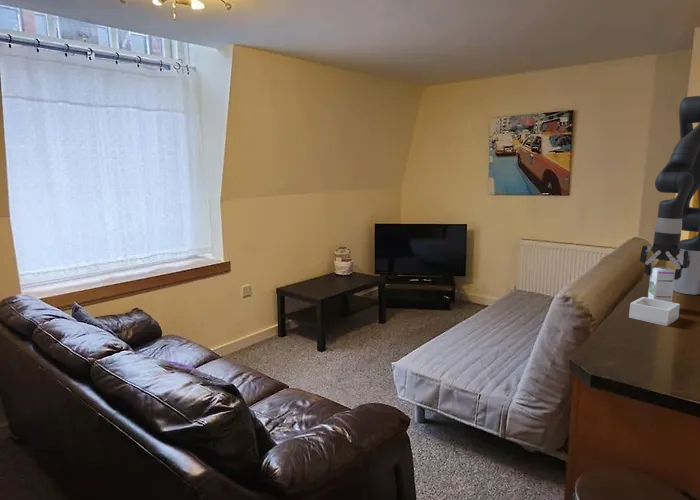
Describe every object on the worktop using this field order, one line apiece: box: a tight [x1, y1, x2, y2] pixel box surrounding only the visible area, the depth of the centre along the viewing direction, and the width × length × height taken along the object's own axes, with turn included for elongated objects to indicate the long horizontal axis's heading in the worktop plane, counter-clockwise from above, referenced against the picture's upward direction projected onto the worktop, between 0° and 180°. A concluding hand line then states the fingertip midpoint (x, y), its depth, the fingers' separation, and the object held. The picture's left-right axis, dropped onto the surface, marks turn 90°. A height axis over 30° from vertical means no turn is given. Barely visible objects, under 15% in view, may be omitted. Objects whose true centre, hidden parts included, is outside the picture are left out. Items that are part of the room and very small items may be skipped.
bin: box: [628, 296, 681, 327], centre depth 154 cm, size 11×11×5 cm
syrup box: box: [647, 266, 675, 303], centre depth 164 cm, size 6×6×14 cm
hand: (661, 277), depth 163 cm, fingers open, 8 cm apart
